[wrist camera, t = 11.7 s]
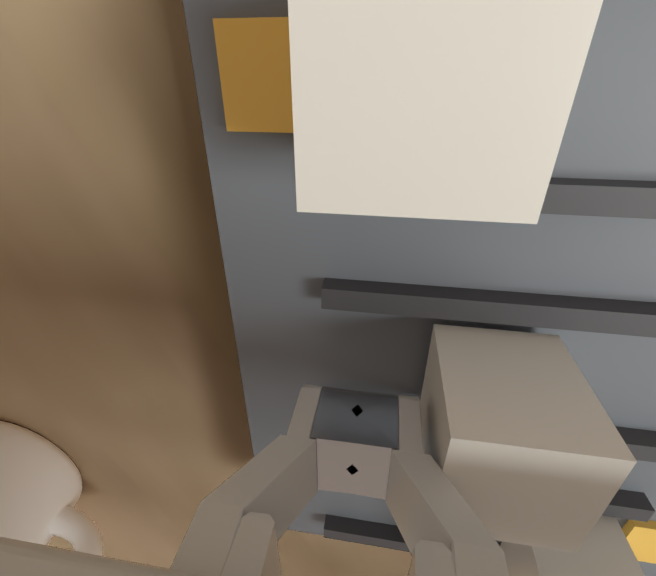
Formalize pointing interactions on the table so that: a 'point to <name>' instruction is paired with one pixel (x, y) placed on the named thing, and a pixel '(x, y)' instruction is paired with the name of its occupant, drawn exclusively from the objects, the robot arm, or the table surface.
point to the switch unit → (434, 255)
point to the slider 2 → (520, 434)
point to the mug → (41, 492)
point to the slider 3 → (577, 556)
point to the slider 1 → (433, 104)
